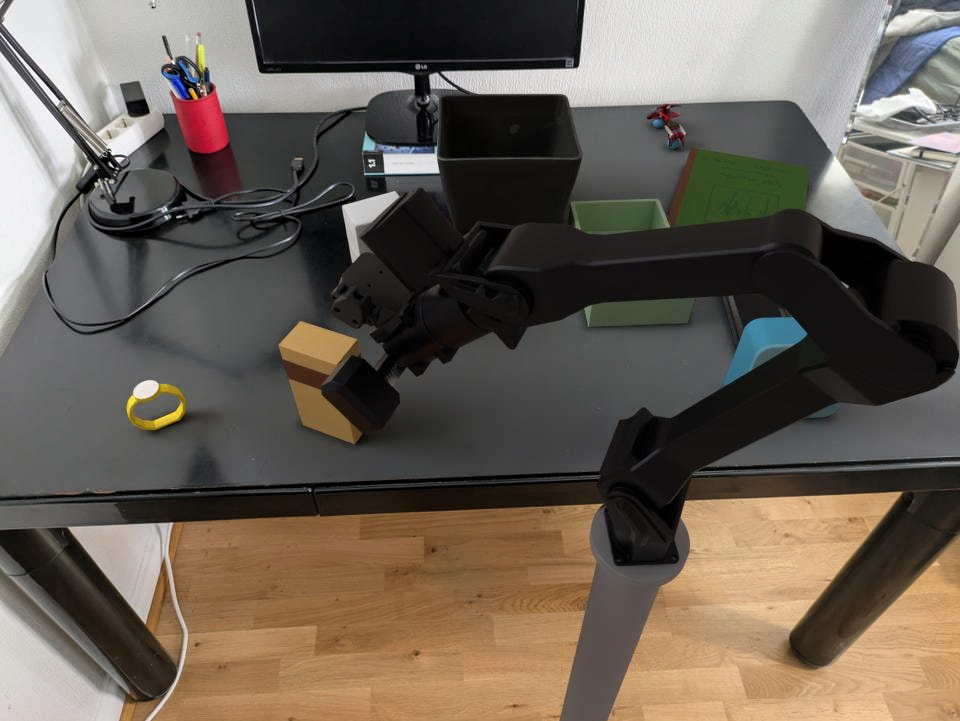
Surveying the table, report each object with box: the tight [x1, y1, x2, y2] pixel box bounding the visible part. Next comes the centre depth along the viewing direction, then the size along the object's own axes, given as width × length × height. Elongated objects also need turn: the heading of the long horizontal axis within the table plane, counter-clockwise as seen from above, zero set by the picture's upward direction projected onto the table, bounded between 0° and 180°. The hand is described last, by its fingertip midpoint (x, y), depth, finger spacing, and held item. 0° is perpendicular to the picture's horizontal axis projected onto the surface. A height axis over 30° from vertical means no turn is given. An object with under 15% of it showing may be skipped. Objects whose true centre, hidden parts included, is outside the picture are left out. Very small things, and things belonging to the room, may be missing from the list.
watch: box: [126, 379, 187, 431], centre depth 78 cm, size 6×3×6 cm, turn 118°
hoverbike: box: [646, 103, 687, 150], centre depth 124 cm, size 5×12×6 cm, turn 9°
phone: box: [721, 294, 792, 349], centre depth 90 cm, size 8×1×15 cm
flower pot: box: [436, 93, 583, 237], centre depth 101 cm, size 19×19×17 cm
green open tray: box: [567, 198, 696, 328], centre depth 96 cm, size 21×13×6 cm, turn 3°
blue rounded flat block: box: [723, 317, 842, 419], centre depth 77 cm, size 12×4×12 cm, turn 91°
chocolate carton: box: [277, 320, 363, 445], centre depth 75 cm, size 7×4×13 cm, turn 66°
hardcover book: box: [666, 146, 810, 227], centre depth 106 cm, size 25×19×4 cm
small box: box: [341, 190, 400, 264], centre depth 96 cm, size 8×6×10 cm
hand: (355, 366), depth 71 cm, fingers open, 9 cm apart
